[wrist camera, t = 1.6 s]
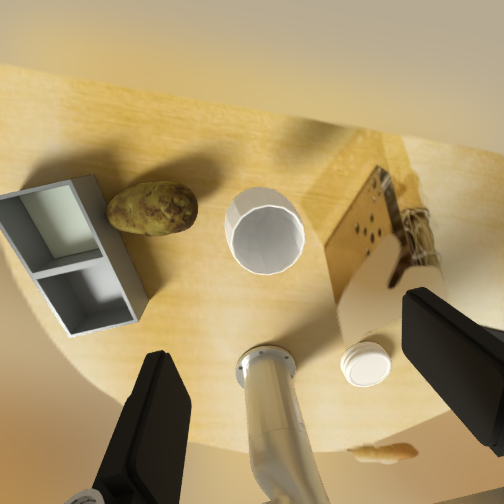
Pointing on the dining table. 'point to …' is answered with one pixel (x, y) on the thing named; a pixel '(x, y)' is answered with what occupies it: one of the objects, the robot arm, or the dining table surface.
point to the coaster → (365, 364)
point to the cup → (264, 231)
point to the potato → (153, 208)
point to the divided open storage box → (74, 255)
